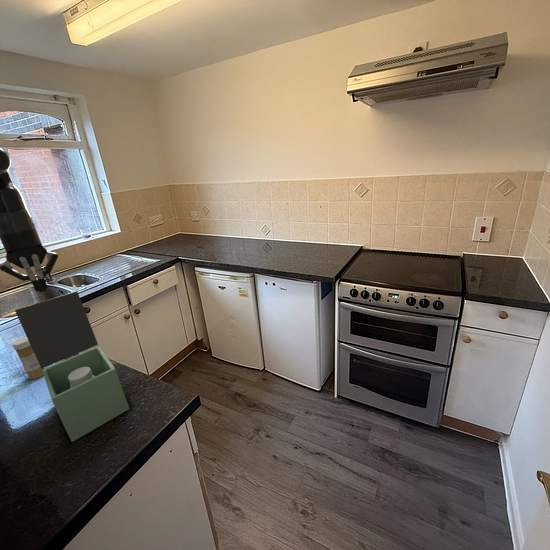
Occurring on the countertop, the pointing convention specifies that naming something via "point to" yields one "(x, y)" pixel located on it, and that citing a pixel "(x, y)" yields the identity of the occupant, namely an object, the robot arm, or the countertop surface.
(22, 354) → the sprinkles bottle
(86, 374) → the pill bottle
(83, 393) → the mint green storage bin
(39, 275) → the robot arm
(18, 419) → the countertop surface
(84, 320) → the pod lid
